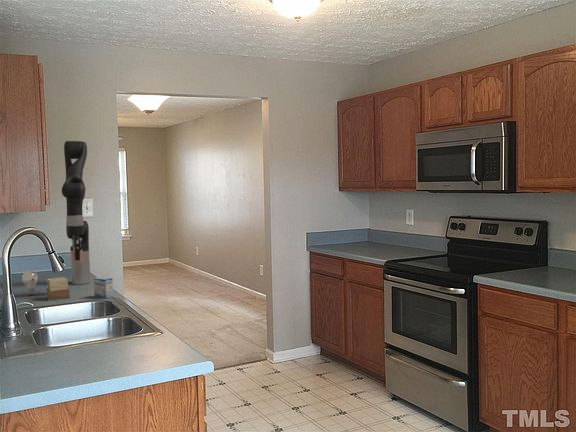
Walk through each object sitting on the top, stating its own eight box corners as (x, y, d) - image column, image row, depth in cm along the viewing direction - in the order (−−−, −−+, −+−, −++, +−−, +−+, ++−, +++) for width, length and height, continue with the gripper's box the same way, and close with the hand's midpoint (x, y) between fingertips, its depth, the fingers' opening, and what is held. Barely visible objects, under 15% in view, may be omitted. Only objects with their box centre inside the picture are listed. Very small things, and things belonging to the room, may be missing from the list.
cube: (71, 260, 269) (70, 250, 268) (82, 260, 271) (81, 249, 271) (72, 262, 264) (71, 251, 264) (83, 261, 267) (82, 251, 266)
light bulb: (35, 293, 270) (34, 268, 270) (41, 294, 265) (39, 270, 265) (20, 295, 265) (19, 270, 265) (26, 297, 260) (24, 271, 260)
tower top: (47, 288, 258) (47, 279, 258) (64, 286, 262) (64, 277, 262) (50, 291, 252) (50, 281, 251) (67, 288, 256) (67, 279, 255)
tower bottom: (47, 298, 259) (46, 288, 258) (67, 295, 263) (67, 286, 263) (48, 301, 251) (48, 291, 250) (69, 299, 255) (69, 289, 255)
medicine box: (94, 297, 256) (93, 278, 256) (101, 295, 260) (100, 276, 260) (106, 298, 253) (105, 279, 252) (113, 296, 256) (112, 277, 256)
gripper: (65, 224, 271) (67, 258, 272) (68, 226, 258) (70, 262, 260) (82, 223, 274) (83, 257, 276) (85, 225, 262) (86, 260, 263)
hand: (77, 259), depth 268 cm, fingers closed on cube, 5 cm apart
